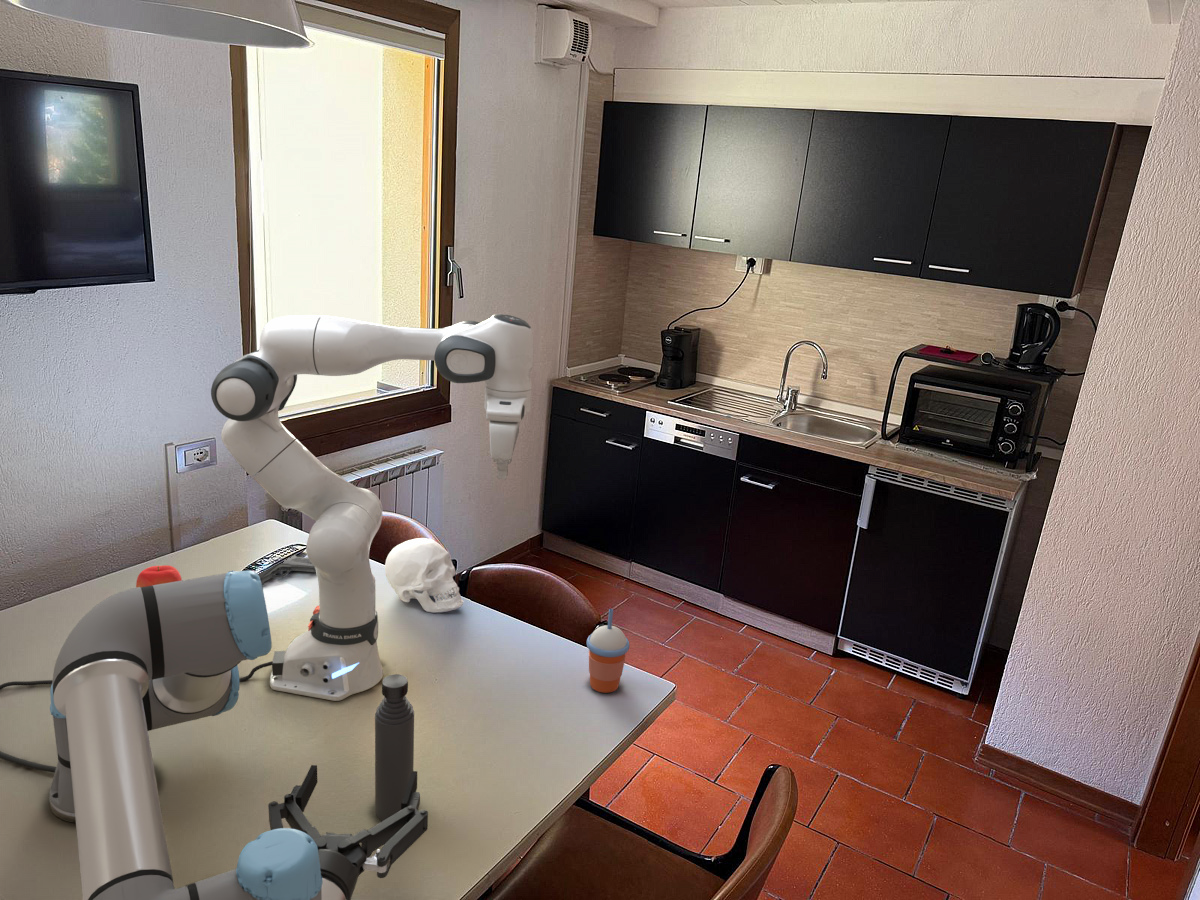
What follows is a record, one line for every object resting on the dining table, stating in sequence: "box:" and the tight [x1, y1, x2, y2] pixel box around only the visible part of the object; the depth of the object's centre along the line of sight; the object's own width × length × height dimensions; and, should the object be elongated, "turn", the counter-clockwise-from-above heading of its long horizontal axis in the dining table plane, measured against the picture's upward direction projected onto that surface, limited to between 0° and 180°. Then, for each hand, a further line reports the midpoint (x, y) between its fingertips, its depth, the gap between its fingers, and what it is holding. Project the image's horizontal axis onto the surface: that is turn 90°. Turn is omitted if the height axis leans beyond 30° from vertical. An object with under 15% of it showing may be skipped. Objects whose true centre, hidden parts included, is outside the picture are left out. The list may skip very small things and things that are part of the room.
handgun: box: [257, 554, 316, 585], centre depth 220 cm, size 2×18×12 cm
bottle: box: [374, 695, 415, 822], centre depth 139 cm, size 6×6×24 cm
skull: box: [384, 537, 465, 614], centre depth 211 cm, size 13×22×16 cm, turn 67°
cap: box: [381, 673, 409, 699], centre depth 136 cm, size 4×4×2 cm
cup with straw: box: [586, 608, 630, 694], centre depth 181 cm, size 9×9×18 cm
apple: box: [135, 564, 183, 588], centre depth 199 cm, size 10×10×10 cm
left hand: (364, 776), depth 117 cm, fingers open, 13 cm apart
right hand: (504, 470), depth 166 cm, fingers open, 8 cm apart
